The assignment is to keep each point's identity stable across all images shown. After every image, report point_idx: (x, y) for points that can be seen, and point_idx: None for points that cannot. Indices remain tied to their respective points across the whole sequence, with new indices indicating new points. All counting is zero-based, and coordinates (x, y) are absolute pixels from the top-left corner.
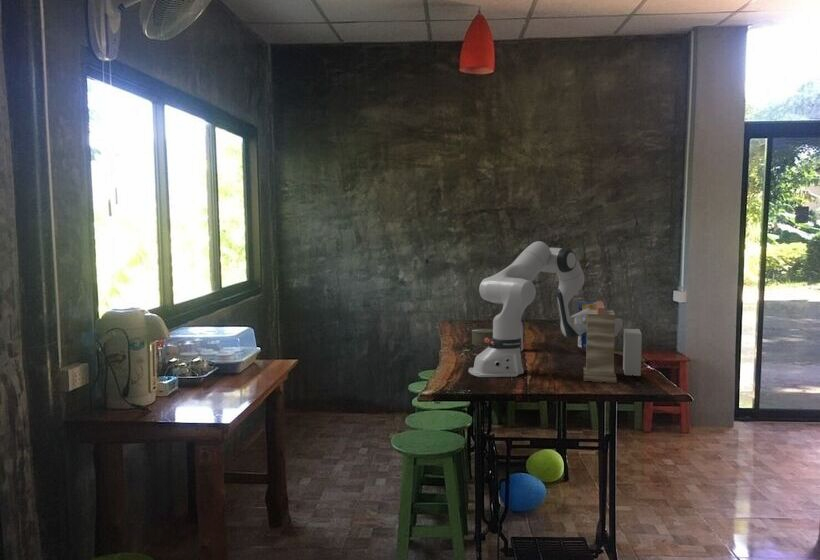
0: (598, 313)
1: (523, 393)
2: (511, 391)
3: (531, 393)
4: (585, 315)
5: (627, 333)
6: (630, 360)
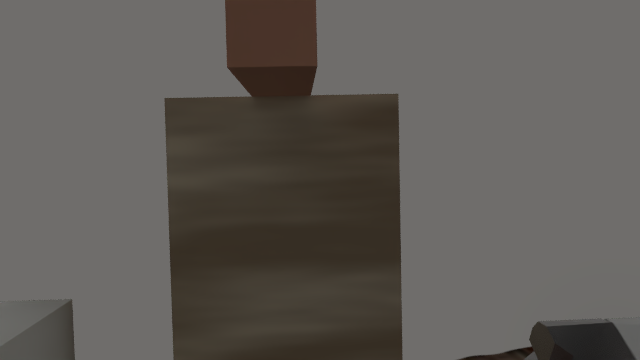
0: None
1: (531, 352)
2: None
3: (509, 355)
4: (630, 321)
5: (58, 301)
6: None
